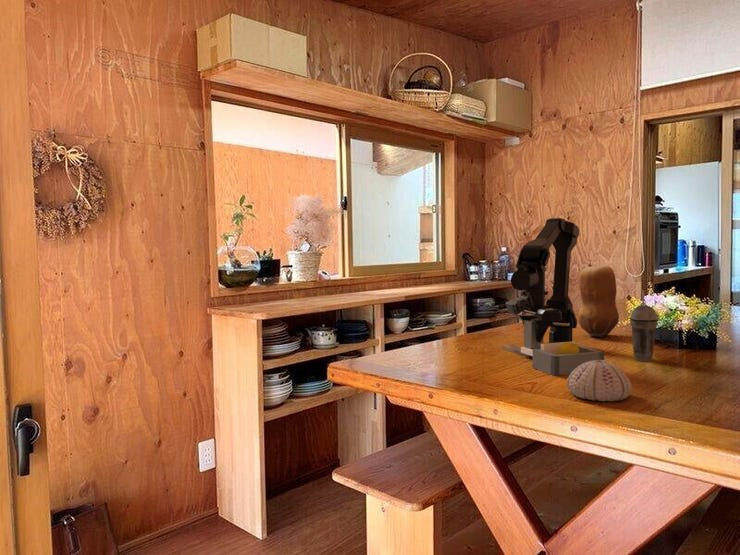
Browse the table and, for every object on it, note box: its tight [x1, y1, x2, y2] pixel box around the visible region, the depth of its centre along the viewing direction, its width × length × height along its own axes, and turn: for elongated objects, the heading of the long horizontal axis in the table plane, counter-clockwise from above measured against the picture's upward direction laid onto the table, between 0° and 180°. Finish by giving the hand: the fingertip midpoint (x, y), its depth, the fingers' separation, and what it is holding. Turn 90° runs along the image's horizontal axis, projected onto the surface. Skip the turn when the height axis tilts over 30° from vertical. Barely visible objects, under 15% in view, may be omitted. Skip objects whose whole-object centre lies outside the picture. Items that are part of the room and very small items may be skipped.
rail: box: [500, 343, 533, 359], centre depth 176 cm, size 4×16×1 cm, turn 16°
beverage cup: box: [629, 289, 659, 362], centre depth 162 cm, size 7×7×20 cm
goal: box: [532, 345, 605, 377], centre depth 153 cm, size 15×10×5 cm, turn 106°
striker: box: [520, 320, 577, 356], centre depth 163 cm, size 10×15×10 cm, turn 16°
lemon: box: [556, 341, 579, 355], centre depth 152 cm, size 6×6×8 cm
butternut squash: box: [577, 265, 620, 338], centre depth 200 cm, size 14×13×25 cm
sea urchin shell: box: [566, 359, 633, 402], centre depth 127 cm, size 13×14×8 cm
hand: (534, 340), depth 168 cm, fingers open, 5 cm apart
